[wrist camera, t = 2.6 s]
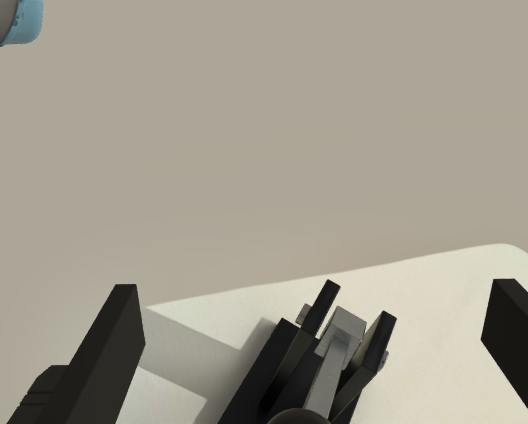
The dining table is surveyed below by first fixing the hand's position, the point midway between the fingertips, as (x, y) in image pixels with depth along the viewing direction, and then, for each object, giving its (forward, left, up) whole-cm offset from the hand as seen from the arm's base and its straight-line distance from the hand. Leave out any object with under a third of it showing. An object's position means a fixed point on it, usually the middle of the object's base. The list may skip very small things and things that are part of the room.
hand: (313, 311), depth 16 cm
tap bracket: (+6, +5, -23) cm, 24 cm away
